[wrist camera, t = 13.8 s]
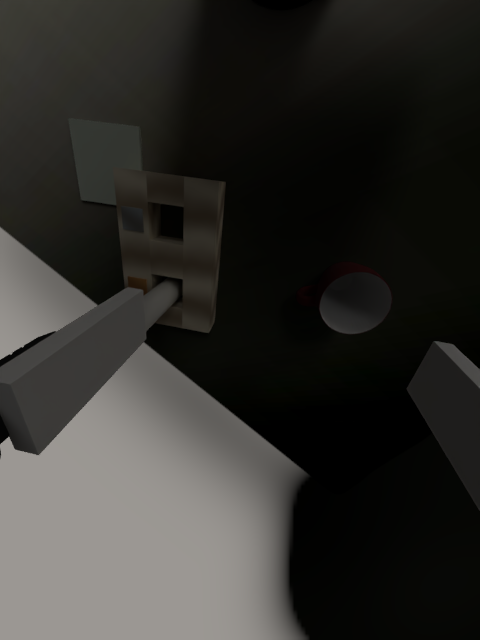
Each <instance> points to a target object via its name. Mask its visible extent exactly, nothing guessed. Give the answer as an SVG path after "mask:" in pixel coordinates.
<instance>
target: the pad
mask: <svg viewBox="0 0 480 640" xmlns="http://www.w3.org/2000/svg"><path fill="white" fill-rule="evenodd" d="M68 121H69V127H70V133H71V139H72V146H73V152H74V158H75V165H76V171H77V177H78V183H79V190H80V196H81V200H85V201H91V202H98V203H105V204H112V205H116V195H115V185H114V175H113V167H117V168H126V169H133V170H141V171H143V165H142V146H141V127H139V126H130V125H122V124H113V123H105V122H97V121H88V120H80V119H71V118H68Z"/></svg>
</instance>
